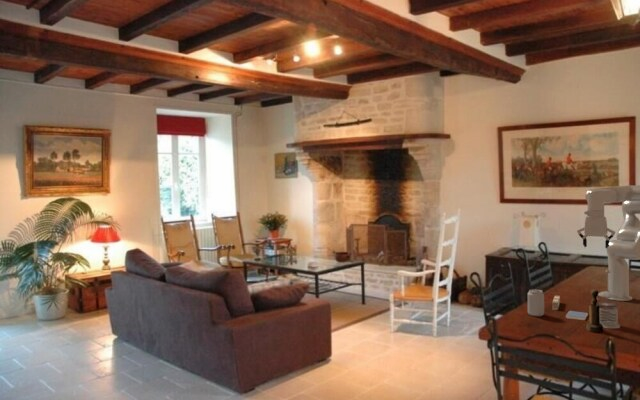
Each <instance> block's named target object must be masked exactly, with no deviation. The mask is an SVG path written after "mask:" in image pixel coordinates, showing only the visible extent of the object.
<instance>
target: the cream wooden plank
mask: <svg viewBox="0 0 640 400" xmlns="http://www.w3.org/2000/svg"><path fill="white" fill-rule="evenodd" d="M560 303H561V296H560V295H554V297H553V300H552V303H551V304H552V305H551V307H552V311H558V310H559V307H560Z"/></svg>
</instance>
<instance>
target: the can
mask: <svg viewBox="0 0 640 400" xmlns="http://www.w3.org/2000/svg"><path fill="white" fill-rule="evenodd" d="M527 314H528V315H529V316H532V317H542V316H543V315H545V293H544V292H543V290H542V289H529V290H528V292H527Z"/></svg>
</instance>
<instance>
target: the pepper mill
mask: <svg viewBox="0 0 640 400" xmlns="http://www.w3.org/2000/svg"><path fill="white" fill-rule="evenodd" d="M598 293H599V290H598V289H595V288H593V289H591V290H590V295H591V297H592V298H591V301H592V304H591V303H590V304H589V305H588V306H589V307H588V308H589V309H588V311H589V312H588V313H589V314H588V315H589V317H588V319H589V322H588V323H586V327H585V330H586V331H588V332H591V333H603V332H604V328H603V325H602V324H600V305H599V304H597V303H598ZM596 297H597V298H596Z"/></svg>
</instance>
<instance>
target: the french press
mask: <svg viewBox="0 0 640 400" xmlns="http://www.w3.org/2000/svg"><path fill="white" fill-rule="evenodd" d="M605 273H606V274H608V273H610V271H609V270H608V269H606V270H605ZM599 297H600V298H606V299H607V298H617V297H618V295H617V294H615V293H613V292H609V291H608V290H606V291H600V292H598V295H597V297H596V299H597V301H599V300H600V299H599ZM590 304H592V300H591V302H590ZM598 305H600V324H602V325H603V329H604V328H605V329H620V327H621V325H620V324H619V320H618V319H619V316H618V315H619V313H618V312H619V308H618V307H617V306H618V304H617V303H615V302H609V301H600V302H598Z"/></svg>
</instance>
